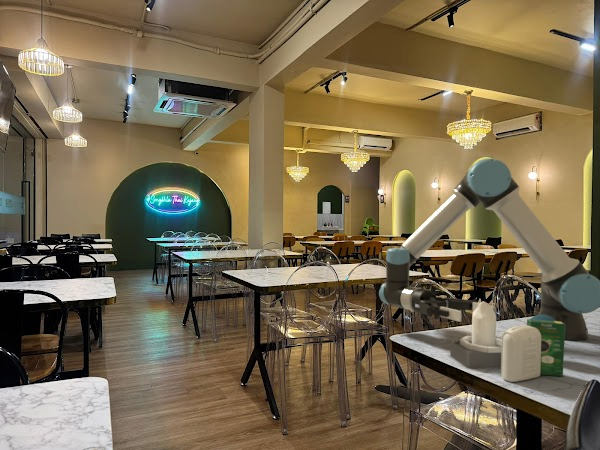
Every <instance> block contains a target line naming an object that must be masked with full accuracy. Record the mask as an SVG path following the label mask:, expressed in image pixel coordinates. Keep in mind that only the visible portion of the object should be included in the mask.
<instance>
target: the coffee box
mask: <svg viewBox="0 0 600 450" xmlns="http://www.w3.org/2000/svg"><path fill="white" fill-rule="evenodd" d="M526 325H527V326H531V327H535V328H537V329H538V330H539V331H540V334H541V369H540V376H541V375H544V376H553V377H564V357H565V356H564V355H565V340H566V339H565V324H564V323H563V322H561V321H547V320H533V319H531V318H526Z"/></svg>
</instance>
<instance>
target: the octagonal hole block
mask: <svg viewBox="0 0 600 450" xmlns="http://www.w3.org/2000/svg"><path fill="white" fill-rule="evenodd" d="M495 344H496V346H493V347H486V346H481V345H475V344H472V335H465V336H464V335H463V337H461V338H456V337H455V338H451V341H450V345H449V347H450V349H449V350H450V352H449V353H450V357H452V358H453V359H454V360H456V361H458V362H459V363H460V364H462V365H463V366H465V367H466V368H468V369H483V368H486V369H487V368H489V369H490V368H501V350H502V338H498V337H496V340H495Z"/></svg>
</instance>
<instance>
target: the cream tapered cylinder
mask: <svg viewBox="0 0 600 450" xmlns="http://www.w3.org/2000/svg"><path fill="white" fill-rule="evenodd" d="M478 303H479V304H478V307H477V308H476V309H475V310H474V312H472V314H471V315H472V317H471V318H472V319H471V324H472V325H471V336H472V344H475V345H481V346H486V347H493V346H496V344H495V340H496V338H497V337H496V335H497V334H496V333H497V315H496V312H495V309H494V310H493V309H492V308H491V306H492V305H490V304H489V303H487V302H486V301H481V302H478Z"/></svg>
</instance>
